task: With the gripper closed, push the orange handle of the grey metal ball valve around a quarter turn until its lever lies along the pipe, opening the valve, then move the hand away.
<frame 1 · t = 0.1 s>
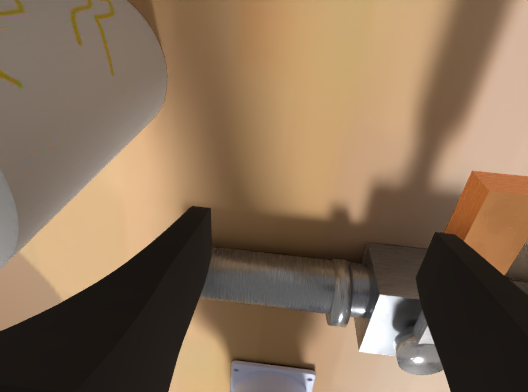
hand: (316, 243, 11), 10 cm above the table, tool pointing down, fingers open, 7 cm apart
valve pipe: (397, 275, 25), on the table
valve lever: (450, 289, 18), point 6 cm above the table, hinge at 0.0°
cup: (96, 65, 19), on the table
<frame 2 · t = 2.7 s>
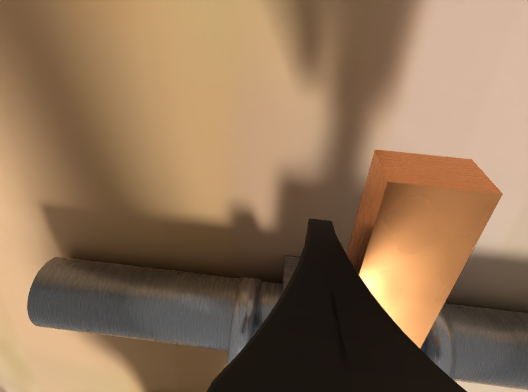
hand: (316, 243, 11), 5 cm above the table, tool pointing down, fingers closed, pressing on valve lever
valve pipe: (330, 298, 19), on the table
valve lever: (367, 333, 12), point 6 cm above the table, hinge at 0.0°, touching gripper
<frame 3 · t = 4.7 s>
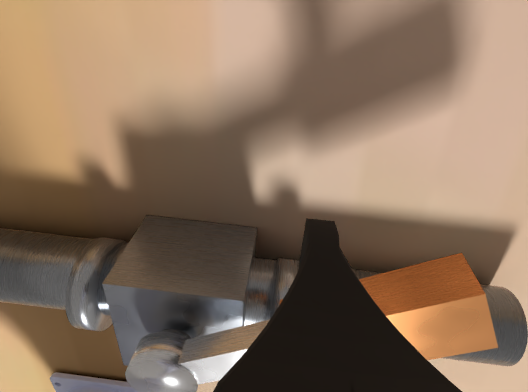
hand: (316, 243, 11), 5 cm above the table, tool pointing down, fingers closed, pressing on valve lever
valve pipe: (202, 262, 19), on the table
valve lever: (281, 337, 12), point 6 cm above the table, hinge at -59.7°, touching gripper
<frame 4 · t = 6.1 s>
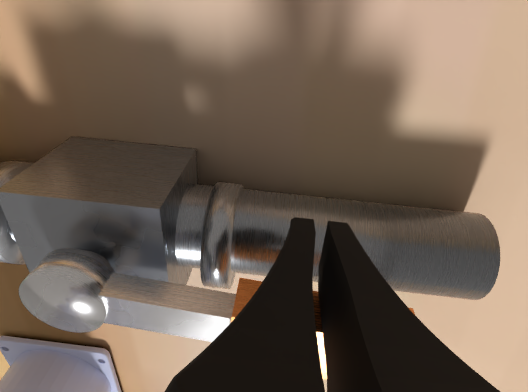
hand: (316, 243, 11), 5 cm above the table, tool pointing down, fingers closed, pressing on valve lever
valve pipe: (141, 195, 17), on the table
valve lever: (220, 312, 12), point 6 cm above the table, hinge at -95.0°, touching gripper
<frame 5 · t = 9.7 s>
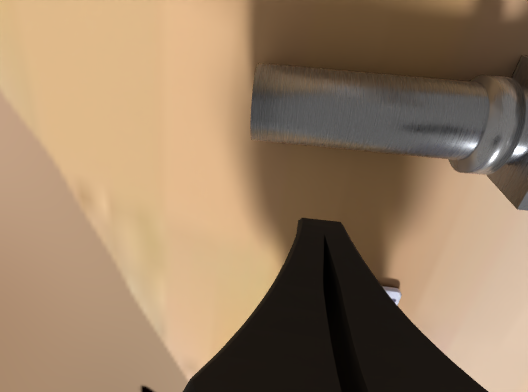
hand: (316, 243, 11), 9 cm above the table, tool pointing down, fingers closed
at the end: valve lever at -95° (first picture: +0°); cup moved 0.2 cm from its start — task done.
